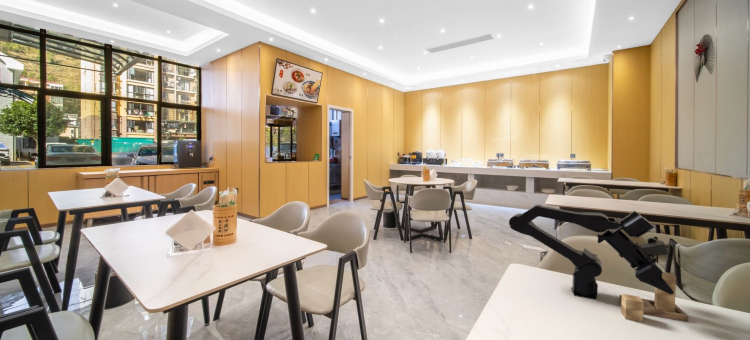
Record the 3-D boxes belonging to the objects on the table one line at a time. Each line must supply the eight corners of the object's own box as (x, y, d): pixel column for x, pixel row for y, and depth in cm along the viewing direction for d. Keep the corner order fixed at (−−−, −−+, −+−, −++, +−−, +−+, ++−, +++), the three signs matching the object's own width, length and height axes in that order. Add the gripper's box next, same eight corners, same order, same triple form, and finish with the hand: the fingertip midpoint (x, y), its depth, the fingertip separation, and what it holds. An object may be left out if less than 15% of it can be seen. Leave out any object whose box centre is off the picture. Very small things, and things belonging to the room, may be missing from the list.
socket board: (627, 310, 92) (627, 305, 92) (619, 299, 99) (619, 294, 99) (688, 321, 86) (688, 316, 86) (675, 308, 93) (675, 303, 93)
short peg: (625, 319, 88) (626, 299, 87) (621, 312, 91) (621, 293, 91) (642, 322, 86) (643, 302, 86) (637, 315, 90) (638, 296, 89)
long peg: (656, 312, 91) (657, 274, 90) (654, 307, 94) (655, 270, 94) (674, 317, 89) (676, 277, 88) (671, 311, 92) (673, 273, 91)
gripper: (653, 238, 85) (707, 285, 79) (644, 225, 100) (689, 264, 94) (616, 259, 91) (664, 305, 84) (613, 244, 105) (654, 282, 99)
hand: (669, 287), depth 90 cm, fingers open, 9 cm apart
